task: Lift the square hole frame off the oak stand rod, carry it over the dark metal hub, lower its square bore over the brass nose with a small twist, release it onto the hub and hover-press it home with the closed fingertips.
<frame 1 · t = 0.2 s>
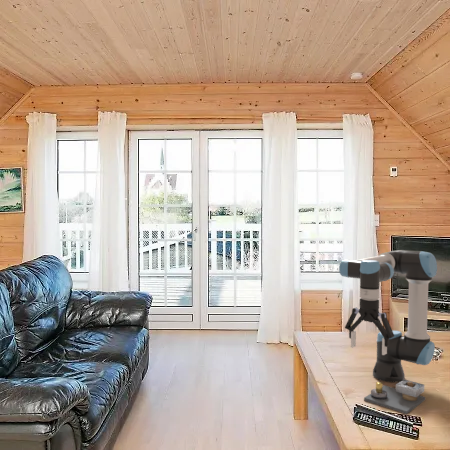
hand: (368, 350, 185), 27 cm above the table, fingers open, 13 cm apart
hub: (378, 398, 203), resting on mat
stand: (409, 400, 201), resting on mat
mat: (394, 400, 202), on the table
square hole frame: (409, 391, 201), point 4 cm above the table, touching stand
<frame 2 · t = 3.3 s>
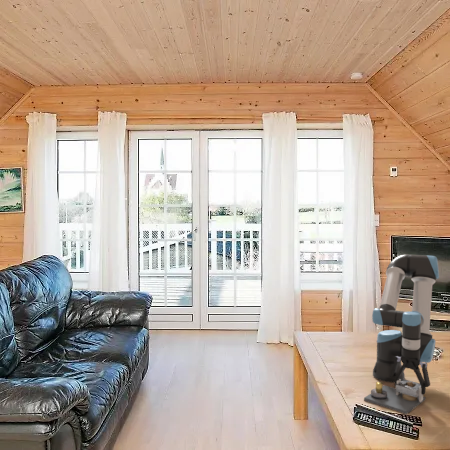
hand: (409, 397, 202), 1 cm above the table, fingers closed on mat, 9 cm apart
nothing on the table moved.
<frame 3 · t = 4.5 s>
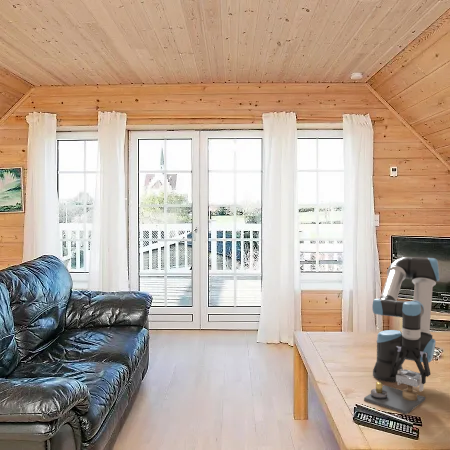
hand: (410, 387, 202), 6 cm above the table, fingers closed on square hole frame, 9 cm apart
square hole frame: (410, 381, 202), point 9 cm above the table, touching gripper
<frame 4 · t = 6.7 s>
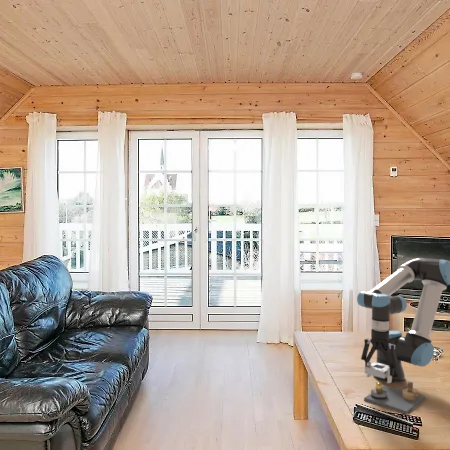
hand: (378, 379, 203), 9 cm above the table, fingers closed on square hole frame, 9 cm apart
square hole frame: (379, 373, 202), point 12 cm above the table, touching gripper
when the fingers open (2 cm above the table, at t = 9.0 s): square hole frame drops 1 cm, resting on hub.
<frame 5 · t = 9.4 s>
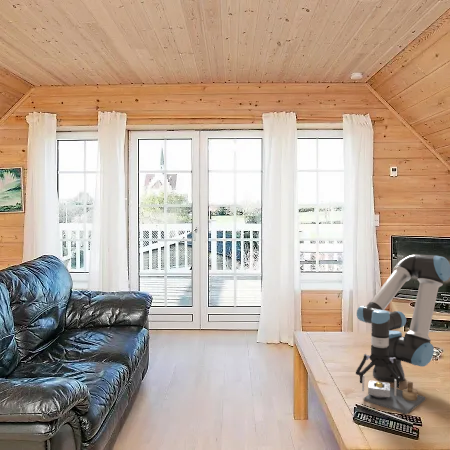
hand: (379, 392, 203), 3 cm above the table, fingers open, 13 cm apart
square hole frame: (379, 391, 203), point 3 cm above the table, touching hub
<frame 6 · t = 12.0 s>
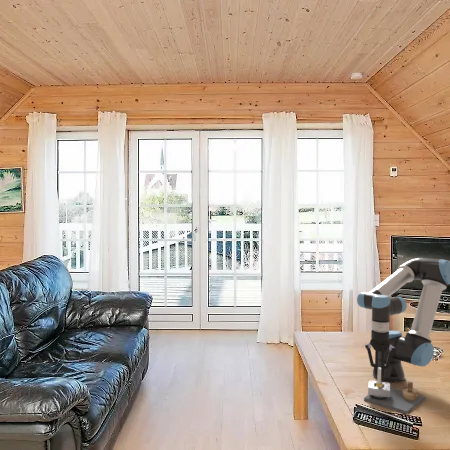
hand: (379, 382, 203), 7 cm above the table, fingers closed
nothing on the table moved.
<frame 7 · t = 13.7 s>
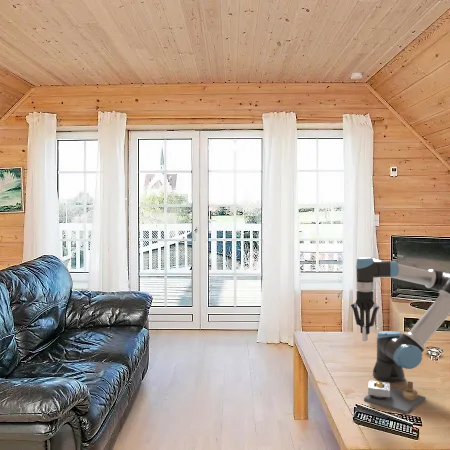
hand: (365, 340, 213), 23 cm above the table, fingers closed
nothing on the table moved.
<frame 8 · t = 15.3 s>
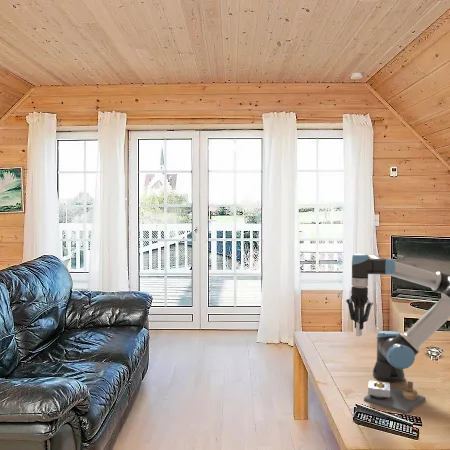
hand: (358, 335, 217), 24 cm above the table, fingers closed
nothing on the table moved.
at the end: square hole frame 0.0 cm off-centre on the hub, point 3.2 cm above the hub's base; square hole frame tilted 0°; the gripper is holding nothing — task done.
